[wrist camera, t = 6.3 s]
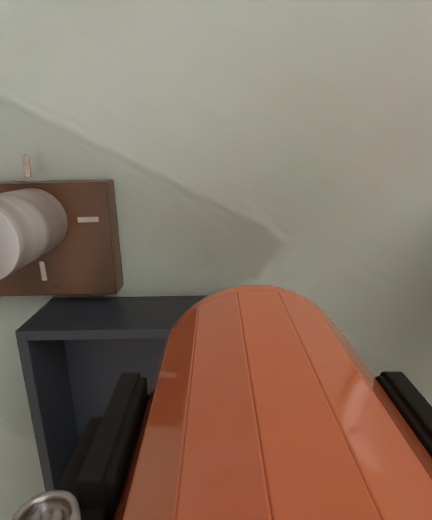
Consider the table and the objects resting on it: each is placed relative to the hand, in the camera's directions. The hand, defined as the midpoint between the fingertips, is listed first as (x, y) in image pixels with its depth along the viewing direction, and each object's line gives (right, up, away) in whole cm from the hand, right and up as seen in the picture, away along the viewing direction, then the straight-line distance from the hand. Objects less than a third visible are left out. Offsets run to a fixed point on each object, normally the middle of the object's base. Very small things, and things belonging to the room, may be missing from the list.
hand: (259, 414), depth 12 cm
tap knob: (-14, +8, +14) cm, 21 cm away
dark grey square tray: (-7, -5, +20) cm, 21 cm away
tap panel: (-14, +7, +16) cm, 22 cm away
